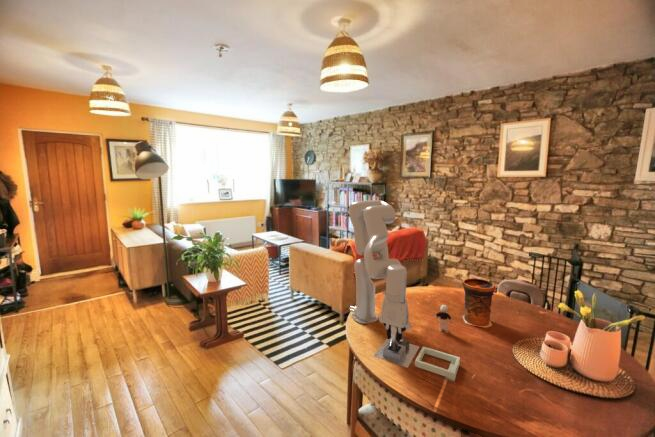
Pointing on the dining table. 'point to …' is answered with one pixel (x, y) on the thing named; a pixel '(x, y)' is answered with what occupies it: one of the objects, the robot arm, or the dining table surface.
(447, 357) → the rectangular frame
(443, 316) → the grandmother figurine
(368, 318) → the robot arm
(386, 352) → the tensioner block
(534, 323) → the dining table surface
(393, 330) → the pin
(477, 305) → the vessel
